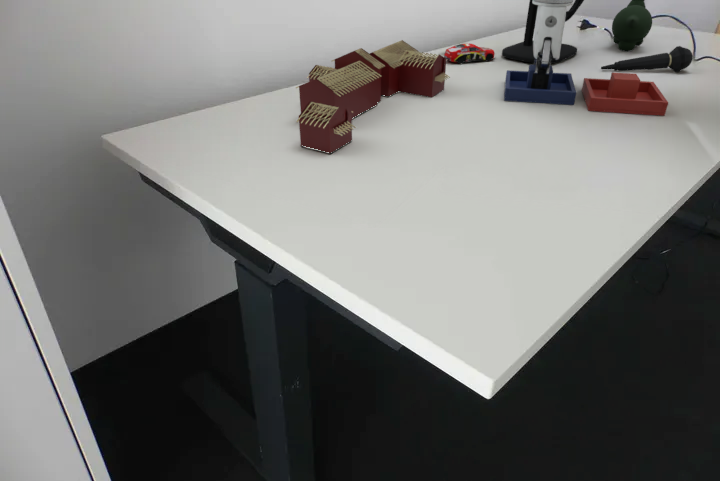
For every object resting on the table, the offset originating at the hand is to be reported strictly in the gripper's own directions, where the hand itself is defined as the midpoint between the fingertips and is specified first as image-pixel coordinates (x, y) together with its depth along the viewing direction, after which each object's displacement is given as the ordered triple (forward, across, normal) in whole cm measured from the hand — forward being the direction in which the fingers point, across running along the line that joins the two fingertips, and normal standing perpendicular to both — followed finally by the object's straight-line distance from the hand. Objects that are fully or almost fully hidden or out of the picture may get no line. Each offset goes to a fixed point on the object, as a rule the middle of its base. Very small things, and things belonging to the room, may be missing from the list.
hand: (537, 88), depth 114 cm
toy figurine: (+1, +48, -25) cm, 54 cm away
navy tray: (+1, 0, 0) cm, 1 cm away
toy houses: (+1, -18, +34) cm, 38 cm away
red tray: (+1, -3, -16) cm, 16 cm away
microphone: (+1, +23, -25) cm, 34 cm away
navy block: (0, 0, 0) cm, 0 cm away
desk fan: (+1, +32, -2) cm, 32 cm away
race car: (+1, +24, +16) cm, 29 cm away
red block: (0, -3, -16) cm, 16 cm away
